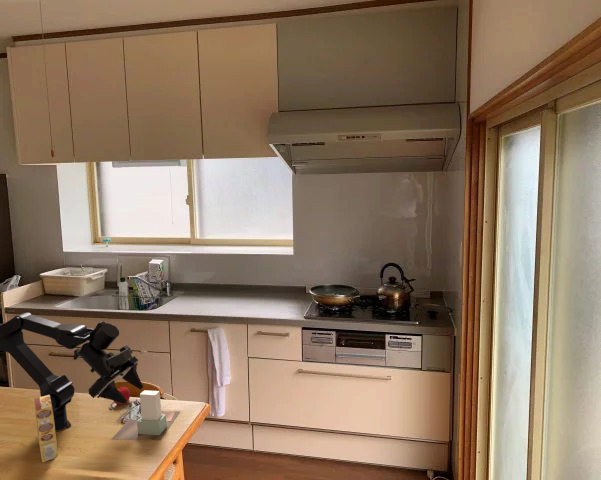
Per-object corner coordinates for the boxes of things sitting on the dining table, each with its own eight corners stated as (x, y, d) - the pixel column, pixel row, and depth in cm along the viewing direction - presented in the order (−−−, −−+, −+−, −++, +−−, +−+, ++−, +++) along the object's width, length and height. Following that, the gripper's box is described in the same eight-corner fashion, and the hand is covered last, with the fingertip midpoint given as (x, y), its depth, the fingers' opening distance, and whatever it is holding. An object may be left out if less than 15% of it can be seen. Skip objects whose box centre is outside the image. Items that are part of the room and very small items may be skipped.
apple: (104, 410, 151) (103, 392, 150) (117, 399, 159) (115, 382, 158) (127, 411, 150) (125, 393, 149) (138, 400, 158) (137, 382, 157)
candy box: (58, 458, 125) (53, 405, 123) (41, 463, 123) (35, 410, 121) (55, 443, 132) (50, 393, 131) (39, 448, 130) (33, 398, 128)
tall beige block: (142, 432, 135) (139, 394, 134) (147, 427, 138) (144, 390, 136) (158, 433, 134) (155, 395, 133) (162, 428, 137) (159, 391, 135)
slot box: (137, 433, 134) (136, 421, 134) (145, 425, 139) (144, 413, 138) (159, 435, 133) (158, 422, 133) (166, 426, 138) (166, 414, 137)
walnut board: (111, 442, 132) (111, 438, 132) (136, 413, 148) (136, 410, 148) (161, 443, 131) (160, 439, 131) (180, 414, 147) (180, 411, 147)
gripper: (94, 353, 125) (133, 392, 125) (130, 331, 144) (165, 365, 143) (71, 378, 128) (110, 417, 127) (110, 354, 146) (144, 387, 145)
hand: (134, 395), depth 136 cm, fingers open, 9 cm apart
